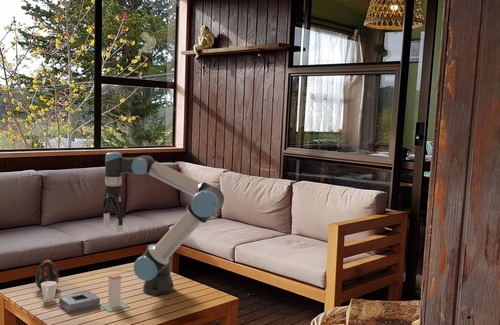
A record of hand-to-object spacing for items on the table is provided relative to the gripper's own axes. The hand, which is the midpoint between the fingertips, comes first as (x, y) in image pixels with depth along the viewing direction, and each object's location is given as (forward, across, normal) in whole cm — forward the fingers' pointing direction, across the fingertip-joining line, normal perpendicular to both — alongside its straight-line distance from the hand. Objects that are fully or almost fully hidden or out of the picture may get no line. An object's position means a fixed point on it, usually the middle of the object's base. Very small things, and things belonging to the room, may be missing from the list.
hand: (112, 229), depth 246 cm
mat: (+33, +13, -6) cm, 36 cm away
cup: (+33, -10, -27) cm, 44 cm away
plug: (+32, +13, -6) cm, 35 cm away
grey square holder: (+33, +4, -18) cm, 38 cm away
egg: (+33, -26, -22) cm, 47 cm away
